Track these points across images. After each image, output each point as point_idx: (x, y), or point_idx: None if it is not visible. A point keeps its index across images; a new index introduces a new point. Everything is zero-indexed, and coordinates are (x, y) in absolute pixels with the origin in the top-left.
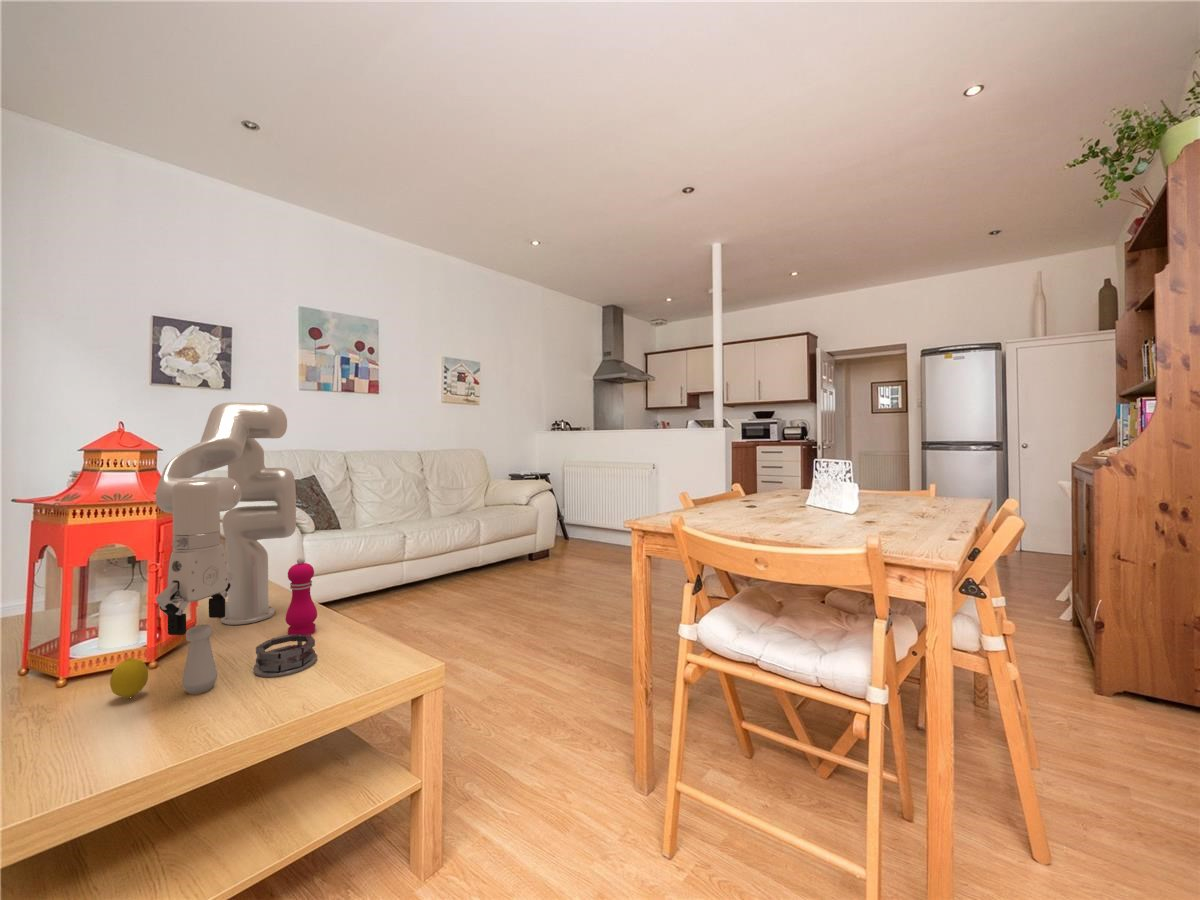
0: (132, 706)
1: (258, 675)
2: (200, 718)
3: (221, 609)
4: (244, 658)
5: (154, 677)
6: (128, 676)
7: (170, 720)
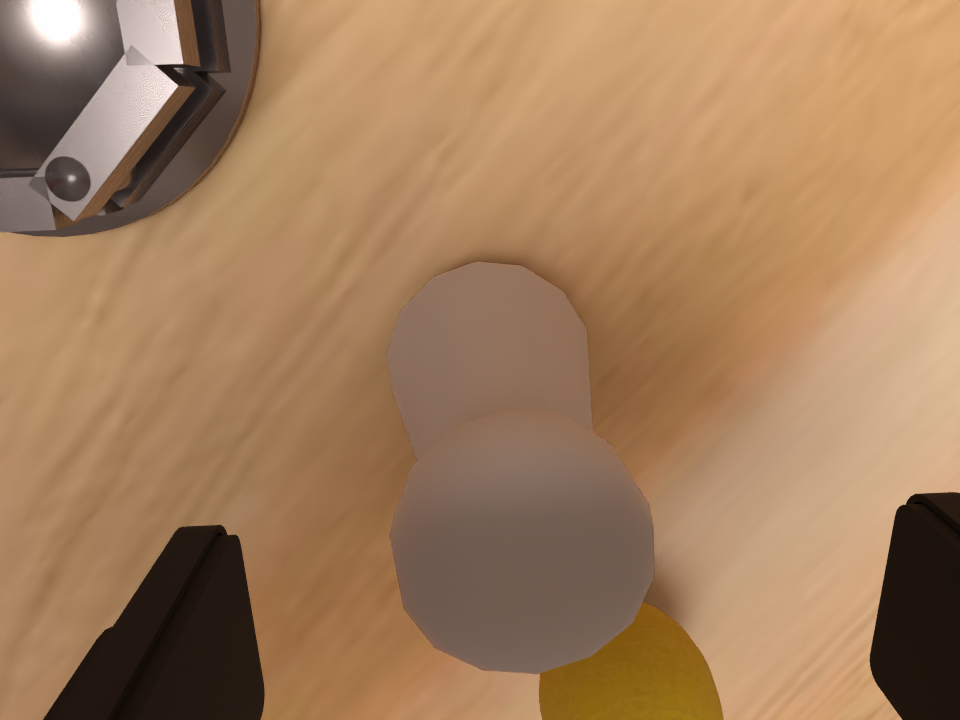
0: (682, 532)
1: (252, 82)
2: (826, 28)
3: (196, 621)
4: (31, 410)
5: (377, 696)
6: (702, 683)
7: (836, 201)
